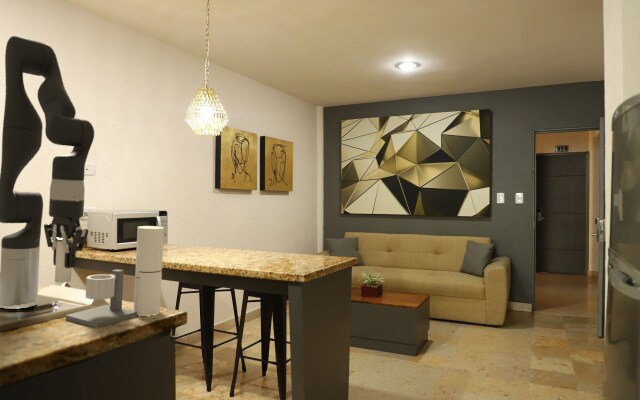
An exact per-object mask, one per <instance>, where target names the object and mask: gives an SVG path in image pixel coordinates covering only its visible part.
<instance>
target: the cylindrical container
mask: <svg viewBox="0 0 640 400" xmlns="http://www.w3.org/2000/svg"><path fill="white" fill-rule="evenodd" d="M164 232H165V228H164V226H163V227H162V226H156V225H155V226H154V225H143V226H142V225H141V226H140V225H139V226H137V236H136V253H135V254H136V255H135V256H136V257H135V278H134V294H133V295H134V298H133V311H136V312H137V315H138V316H137V317H141V316H147V315H153V314H157V313H159V312H161V296H162V295H161V293H162V291H161V290H162V276H163V275H162V274H163V272H162V271H163V255H164V254H163V253H164V234H165V233H164ZM159 314H160V313H159Z"/></svg>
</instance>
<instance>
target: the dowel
mask: <svg viewBox="0 0 640 400" xmlns="http://www.w3.org/2000/svg"><path fill="white" fill-rule="evenodd" d="M71 245H72V243H70V248H71ZM65 253H66V251H65V244H63V240H62V241H57V246H56V265H55V270H54V282H55V283H59V284H60V283H68V282H71V281H72V276H73V275H72V273H73V267H72V268H65V266H64V265H65Z"/></svg>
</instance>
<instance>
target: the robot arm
mask: <svg viewBox="0 0 640 400" xmlns="http://www.w3.org/2000/svg"><path fill="white" fill-rule="evenodd" d="M4 59H5V60H4V66H5V67H4V69H5V70H4V71H5V72H4V73H5V74H4V75H5V97H4V99H5V100H4V101H5V102H4V112H3V113H4V114H3V121H2V136H1V137H2V138H1V140H2V141H1V162H0V163H1V164H0V223H1V224H25V226H24V227H23V228H22V229H20V230H18V231H16V232H13V233H10V234H8V235H7V234H6V235H4V236H3V237H2V238H1V244H0V245H1V246H0V247H1V248H0V305H2V306H13V305H21V304H28V303H33V302H36V301H37V302H38V295H39V294H38V292H39V274H40V273H39V271H40V252H41V251H40V245H41V237H42V236H41V234H42V223H43V222H42V220H43V211H44V198H43V195H42V194H41V193H40V192H38V191H35V190H34V191H33V190H32V191H30V190H15V189H14V188H15V185H16V182H17V180H18V178H19V176H20V174H21V173H22V171H23V170H24V169H25V167H26V166H27V165H29V163H30V162H31V161H32V159H34V157H35V156H36V155H37V154H38V152H39V151H40V149H41V146H42V140H43V127H45V129H44V130H45V136H46V139H48V140H49V142H51V143H52V144H54V145H58V146H65V147H73V148H72V150H71V151H70V153H68V154H67V153H66V154H61V155H57V156H54V157H53V160H52V168H51V182H50V186H49V201H48V202H49V204H48V205H49V207H48V216H49V217H50V218H52V221H51V222H50V223H45V224H44V225H43V229H44V235H45V239H46V245H47V247H48V248H51V250H52V251H53V255H52V258H53V259H52V262H53V265H54V266H56V246H57V241H62V240H63V244H65V251H66V253H65V265H64V266H65V268H72V269H73V268H74V267H75V264H76V254H77V252H81V251H83V250H84V247H85V246H84V245H85V243H86V240H87V237H88V234H89V229H88V228H83V227H81V223H80V219H81V218H83V217H84V214H85V213H84V211H85V210H84V209H85V190H86V189H85V181H84V180H85V172H86V171H85V167H86V162H87V158H88V156H89V153H90V149H91V147H92V145H93V142H94V139H95V128H94V127H93V124H92V123H91V122H90V121H89V120H86V119H84V118H76V108H75V106H74V103H73V102H72V100H71V98H70V95H68V91H67V90H66V87H65V84H64V82H63V76H62V73H61V70H60V66H59V62H58V61H59V60H58V58H57V55H56V52H55V51H54V49H53V47H51V45H49V44H47V43H46V42H41V41H38V40H32V39H29V38H26V37H21V36H19V35H18V36H16V35H12V36H11V37H9V39H7V42H6V46H5V55H4ZM24 74H28V75H33V76H38V77H43V78H44V81H42V82H41V84H40V85H39V88H38V89H37V99H38V104H39V106H40V109H42V112H43V113H44V120H45V126H43V121H42V119H41V116H40V115H39V113H38V111H37V109H36V108H35V106H34V105H33V103H32V101H31V99H30V98H29V95H28V93H27V91H26V88H25V83H24ZM70 243H72V245H71V248H70Z"/></svg>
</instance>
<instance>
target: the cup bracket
mask: <svg viewBox="0 0 640 400" xmlns="http://www.w3.org/2000/svg"><path fill="white" fill-rule="evenodd" d="M124 272H125V271H124V270H123V269H117V268H116V269H113V270H111V274H93V275H88V276H86V279H85V281H86V282H85V299H88V300H107V299H110V301H109V304H105V305H99V306H96V307H93V308H89V309H85V310H80V311H75V312H73V313H69V314H65V320H66V321H70V322H73V323H76V324H81V325H84V326H88V327H91V328H95V329H98V328H101V327H102V328H103V327H105V326H108V325H112V324H114V323H117V322H118V323H119V322H121V321H120V320H122V321H125V320H127V318H128V319H131V318H130V317H132V318H134V317H133V316H135V317H138V316H137V312H136V311H134V310H131V309H126V308H123V291H124V290H123V289H124V274H125V273H124ZM124 319H125V320H124Z"/></svg>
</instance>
